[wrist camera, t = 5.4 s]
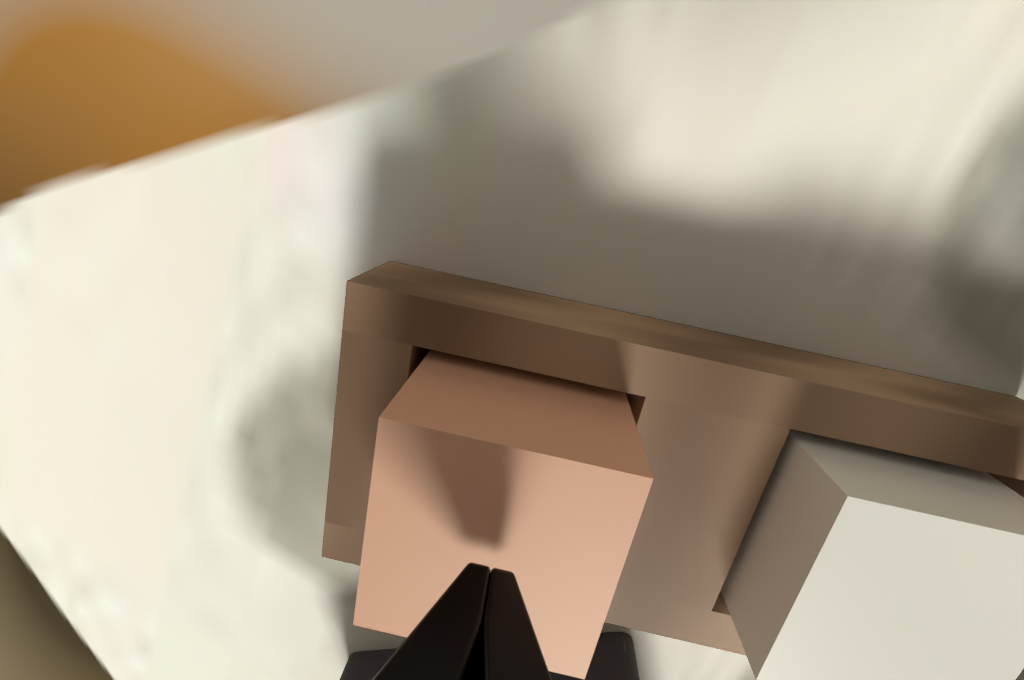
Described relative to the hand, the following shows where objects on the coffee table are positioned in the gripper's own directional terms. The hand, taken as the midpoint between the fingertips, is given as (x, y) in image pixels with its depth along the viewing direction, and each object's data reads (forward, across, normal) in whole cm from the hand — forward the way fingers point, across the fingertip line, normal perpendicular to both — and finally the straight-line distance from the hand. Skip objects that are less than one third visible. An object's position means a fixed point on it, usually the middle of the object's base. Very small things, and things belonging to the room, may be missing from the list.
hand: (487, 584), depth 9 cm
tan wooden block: (+5, 0, 0) cm, 5 cm away
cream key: (+6, -9, 0) cm, 11 cm away
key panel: (+7, -4, 0) cm, 8 cm away
